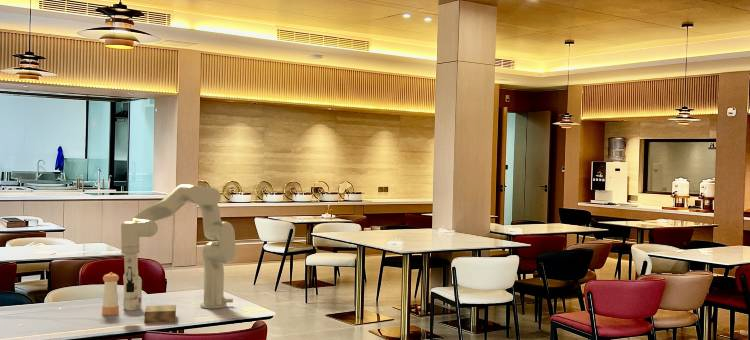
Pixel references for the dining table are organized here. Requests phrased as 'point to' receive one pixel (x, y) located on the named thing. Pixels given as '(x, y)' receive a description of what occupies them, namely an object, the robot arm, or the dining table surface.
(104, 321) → the dining table surface
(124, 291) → the supplement can
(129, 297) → the plastic bottle
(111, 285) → the pepper shaker
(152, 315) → the walnut block
